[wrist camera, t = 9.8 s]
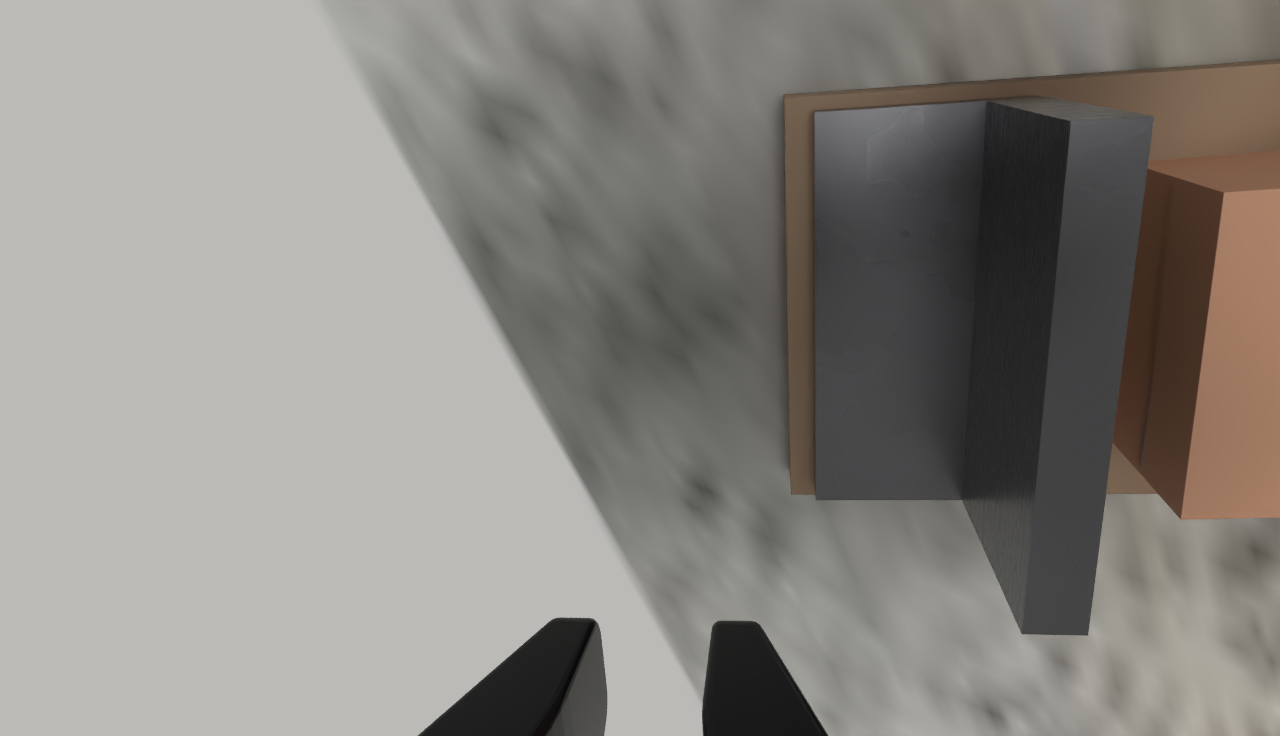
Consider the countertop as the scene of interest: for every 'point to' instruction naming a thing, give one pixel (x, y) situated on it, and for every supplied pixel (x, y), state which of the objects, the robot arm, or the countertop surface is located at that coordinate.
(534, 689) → the robot arm
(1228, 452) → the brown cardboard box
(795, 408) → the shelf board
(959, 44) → the countertop surface
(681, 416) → the countertop surface
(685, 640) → the countertop surface
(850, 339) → the bookend
